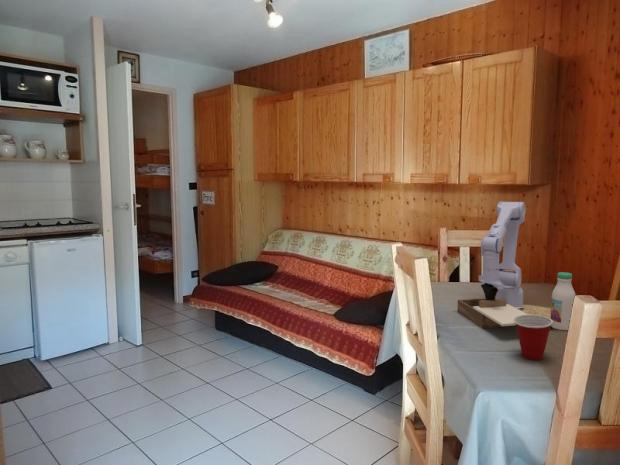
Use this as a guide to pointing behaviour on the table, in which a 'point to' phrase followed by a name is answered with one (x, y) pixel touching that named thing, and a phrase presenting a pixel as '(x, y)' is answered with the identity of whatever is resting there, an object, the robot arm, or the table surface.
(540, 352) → the plastic cup
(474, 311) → the storage box
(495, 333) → the table surface
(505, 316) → the lid
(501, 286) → the robot arm
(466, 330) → the table surface
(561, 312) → the milk bottle
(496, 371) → the table surface
